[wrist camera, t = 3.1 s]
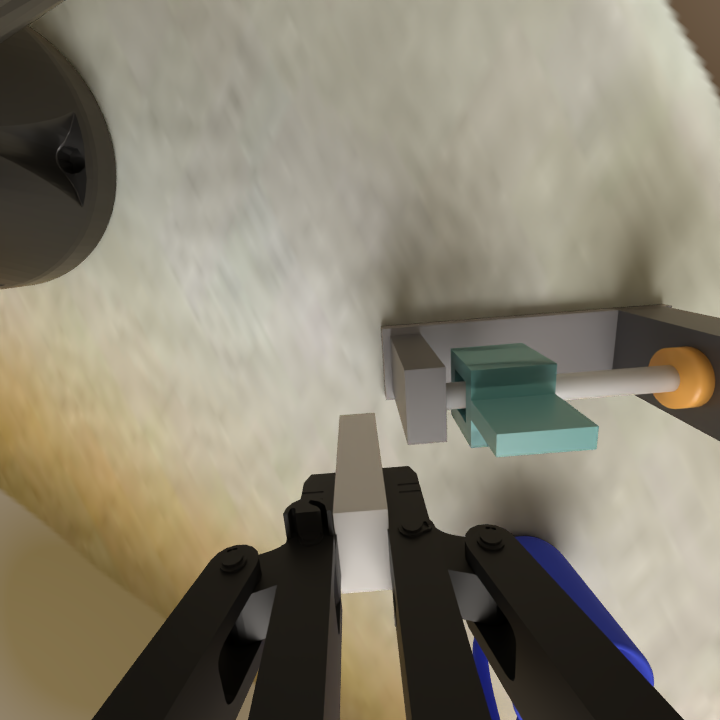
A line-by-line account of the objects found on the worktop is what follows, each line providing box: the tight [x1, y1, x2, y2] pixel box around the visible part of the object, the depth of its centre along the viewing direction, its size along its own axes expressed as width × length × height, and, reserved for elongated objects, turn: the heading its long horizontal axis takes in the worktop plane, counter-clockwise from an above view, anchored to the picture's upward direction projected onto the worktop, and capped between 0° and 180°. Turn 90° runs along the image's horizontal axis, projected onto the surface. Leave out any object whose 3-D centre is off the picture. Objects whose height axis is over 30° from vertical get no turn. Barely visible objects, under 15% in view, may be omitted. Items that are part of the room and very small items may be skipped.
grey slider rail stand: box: [381, 304, 720, 445], centre depth 23 cm, size 19×5×11 cm, turn 94°
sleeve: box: [451, 343, 599, 457], centre depth 20 cm, size 4×4×8 cm
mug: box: [473, 536, 654, 720], centre depth 29 cm, size 8×12×10 cm
